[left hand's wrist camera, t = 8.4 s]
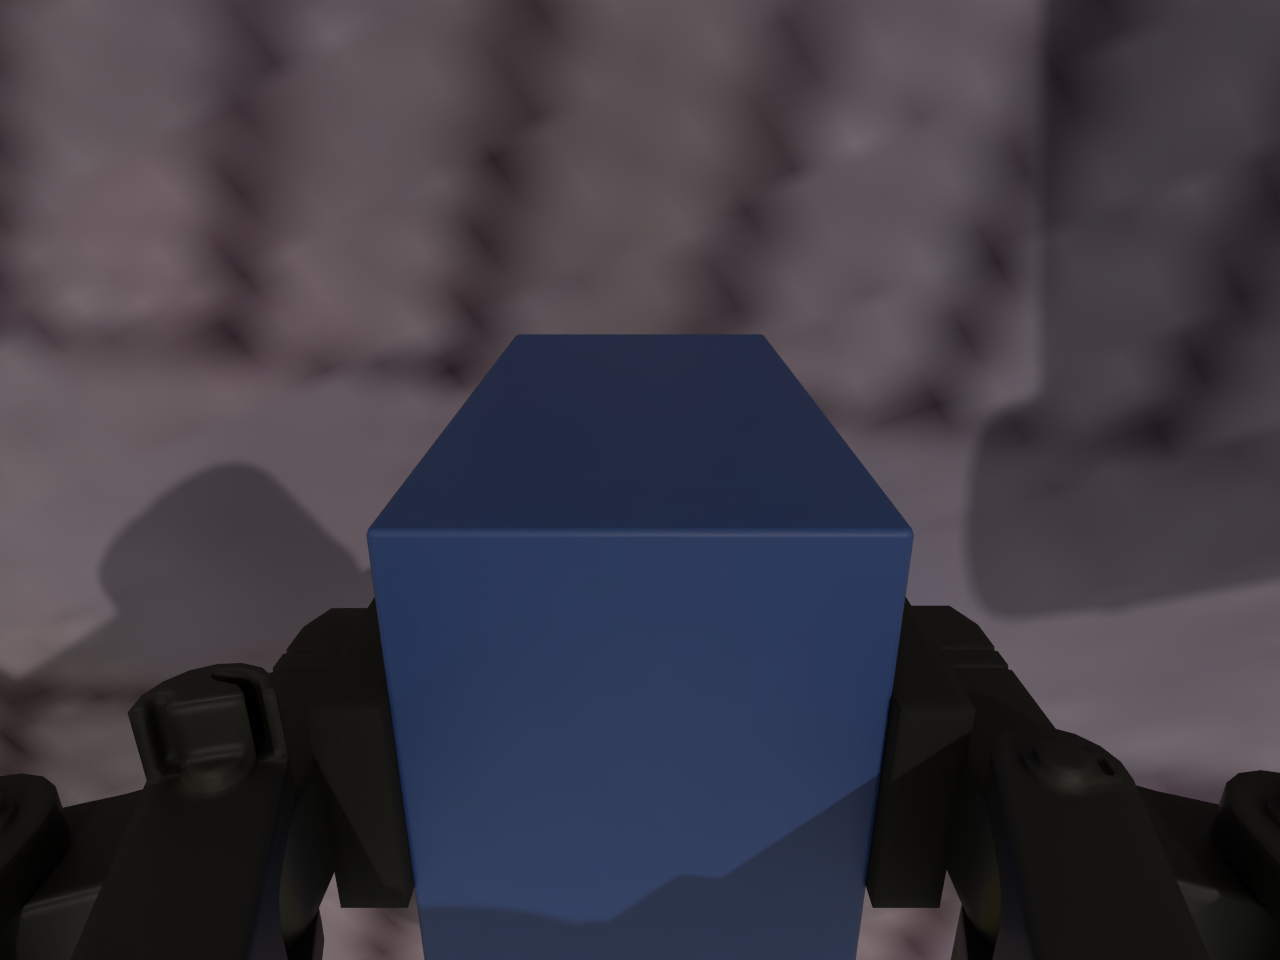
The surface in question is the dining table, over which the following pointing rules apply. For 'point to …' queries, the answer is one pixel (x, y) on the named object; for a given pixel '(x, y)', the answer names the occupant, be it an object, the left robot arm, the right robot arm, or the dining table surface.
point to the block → (640, 658)
